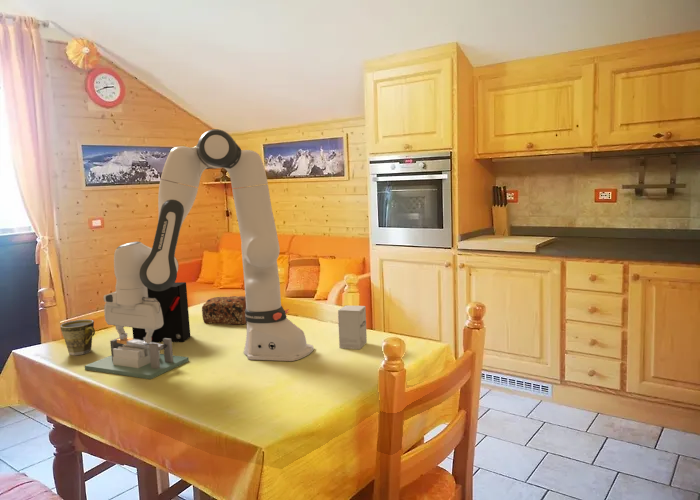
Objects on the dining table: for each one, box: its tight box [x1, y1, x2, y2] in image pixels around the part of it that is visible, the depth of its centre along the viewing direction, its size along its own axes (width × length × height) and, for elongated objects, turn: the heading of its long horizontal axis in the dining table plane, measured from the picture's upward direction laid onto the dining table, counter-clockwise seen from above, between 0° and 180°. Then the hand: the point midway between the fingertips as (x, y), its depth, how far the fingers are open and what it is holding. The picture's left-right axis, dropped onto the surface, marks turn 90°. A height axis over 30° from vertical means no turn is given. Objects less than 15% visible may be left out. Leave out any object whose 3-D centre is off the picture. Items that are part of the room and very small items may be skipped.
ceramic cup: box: [60, 319, 96, 356], centre depth 179 cm, size 13×10×10 cm
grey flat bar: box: [116, 337, 167, 351], centre depth 162 cm, size 17×4×1 cm, turn 66°
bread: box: [201, 295, 247, 326], centre depth 212 cm, size 19×11×10 cm, turn 69°
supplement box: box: [337, 305, 368, 350], centre depth 174 cm, size 7×7×13 cm
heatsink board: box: [84, 337, 190, 380], centre depth 164 cm, size 26×16×8 cm, turn 66°
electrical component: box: [131, 281, 191, 343], centre depth 189 cm, size 18×10×20 cm, turn 84°
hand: (135, 340), depth 163 cm, fingers open, 8 cm apart
